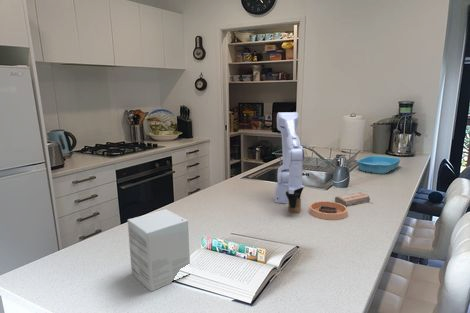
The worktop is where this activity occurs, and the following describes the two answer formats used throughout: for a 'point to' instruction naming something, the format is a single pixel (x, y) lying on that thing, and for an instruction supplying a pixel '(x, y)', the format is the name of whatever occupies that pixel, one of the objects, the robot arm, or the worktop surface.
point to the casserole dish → (378, 164)
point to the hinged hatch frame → (327, 209)
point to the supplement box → (158, 247)
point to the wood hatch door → (297, 208)
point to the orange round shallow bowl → (340, 214)
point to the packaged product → (352, 199)
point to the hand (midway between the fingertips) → (294, 204)
